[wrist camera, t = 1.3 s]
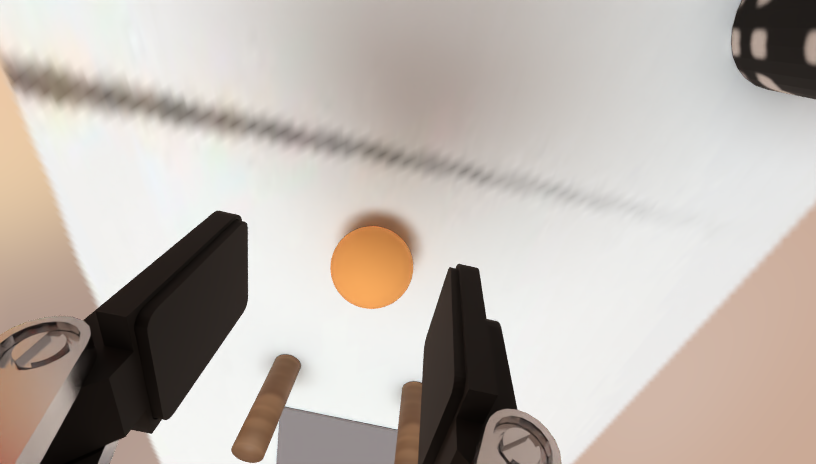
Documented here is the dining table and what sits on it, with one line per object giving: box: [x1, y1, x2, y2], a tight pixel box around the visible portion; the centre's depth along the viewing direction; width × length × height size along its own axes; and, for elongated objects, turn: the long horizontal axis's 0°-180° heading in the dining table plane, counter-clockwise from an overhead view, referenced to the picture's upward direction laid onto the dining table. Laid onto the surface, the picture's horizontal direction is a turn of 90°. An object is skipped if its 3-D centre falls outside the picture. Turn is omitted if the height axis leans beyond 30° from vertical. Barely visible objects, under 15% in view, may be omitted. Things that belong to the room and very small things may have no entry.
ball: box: [331, 226, 413, 309], centre depth 27 cm, size 6×6×6 cm
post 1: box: [231, 355, 301, 463], centre depth 34 cm, size 3×3×9 cm
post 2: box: [394, 382, 422, 464], centre depth 34 cm, size 3×3×9 cm
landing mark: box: [277, 407, 398, 464], centre depth 45 cm, size 14×14×1 cm
